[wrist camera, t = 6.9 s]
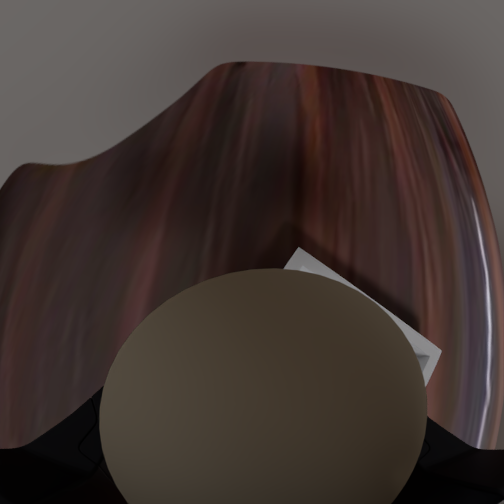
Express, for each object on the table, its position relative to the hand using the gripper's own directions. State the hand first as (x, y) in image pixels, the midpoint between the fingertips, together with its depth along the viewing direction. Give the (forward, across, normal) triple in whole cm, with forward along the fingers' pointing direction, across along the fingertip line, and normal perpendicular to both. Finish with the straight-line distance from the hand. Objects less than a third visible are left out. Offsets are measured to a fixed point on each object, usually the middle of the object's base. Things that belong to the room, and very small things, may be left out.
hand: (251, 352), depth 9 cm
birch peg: (+4, 0, +6) cm, 7 cm away
